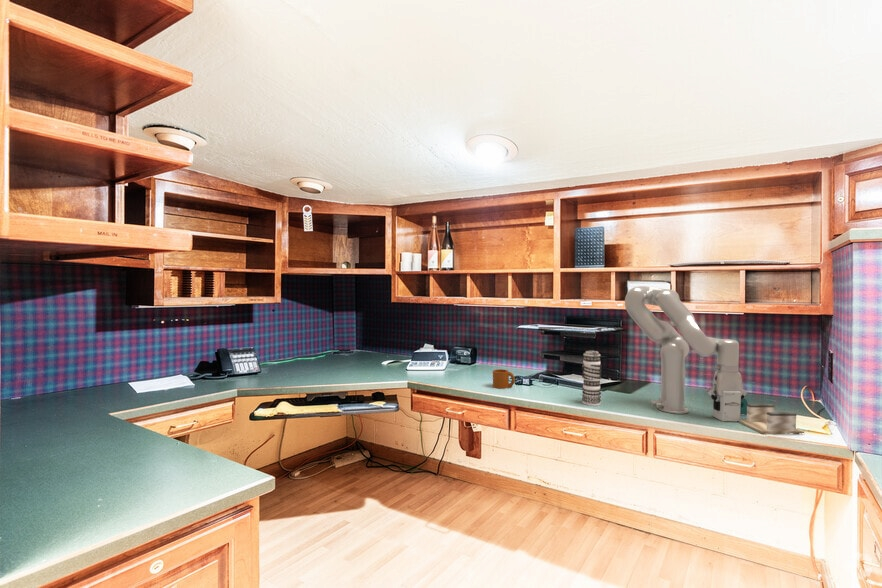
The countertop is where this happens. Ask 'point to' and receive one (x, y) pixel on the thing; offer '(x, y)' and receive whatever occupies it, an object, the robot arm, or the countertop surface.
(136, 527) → the countertop surface
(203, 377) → the countertop surface
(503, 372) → the mug
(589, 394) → the decorative candle
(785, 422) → the clip holder
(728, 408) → the supplement box
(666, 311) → the robot arm
